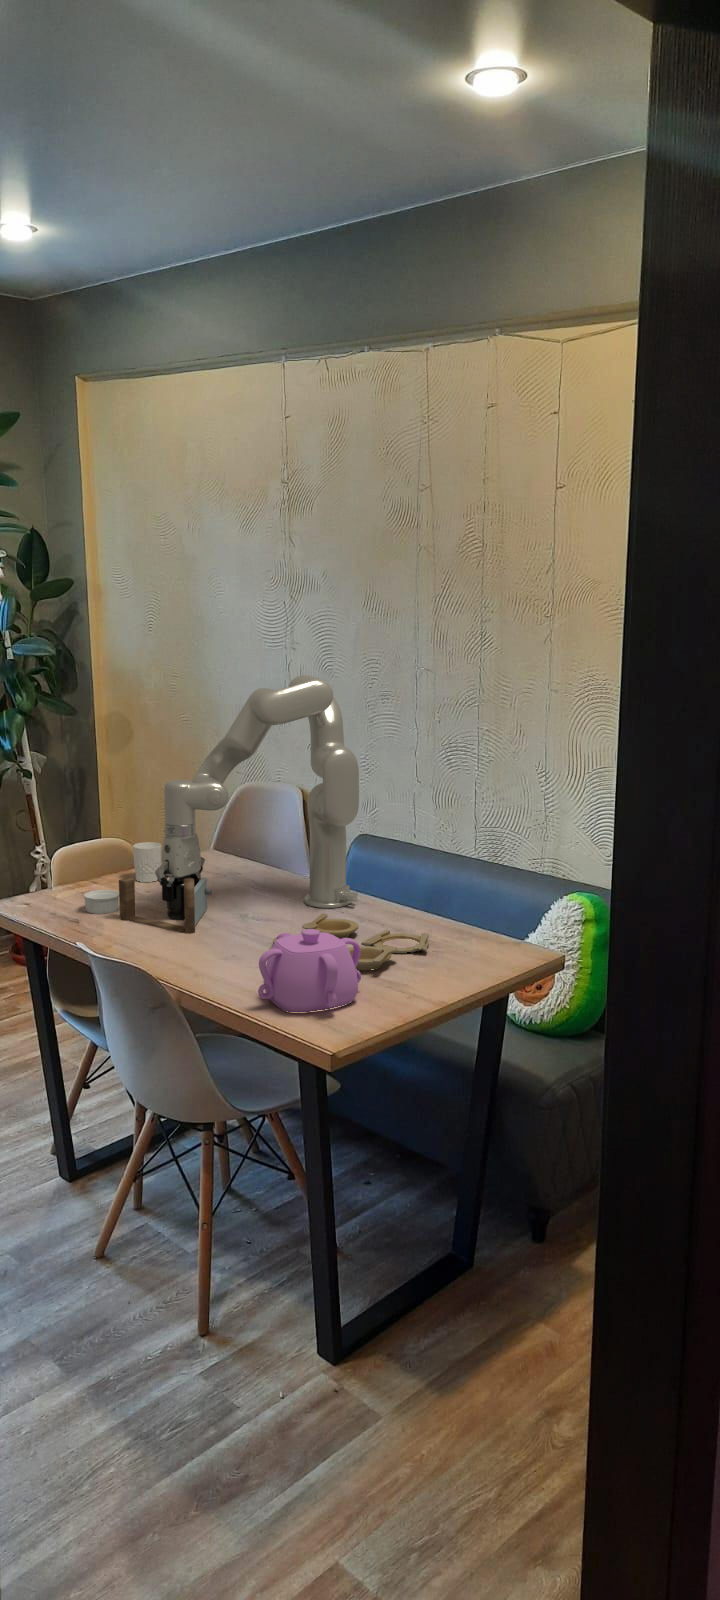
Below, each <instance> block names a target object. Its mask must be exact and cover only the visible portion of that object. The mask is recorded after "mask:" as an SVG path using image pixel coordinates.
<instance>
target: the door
mask: <svg viewBox="0 0 720 1600" xmlns="http://www.w3.org/2000/svg"><path fill="white" fill-rule="evenodd" d="M207 881H208V879H207V877H201V879H200V881H199V882H198V883H197V885H196V886H195V887H194V900H195V926H196V925H197V924H198V922H199V921H200V919H201V918H202V916H203V915H204V913H205V912H206V910H207V909H208V896H212V893H213V890H212V888H209V887H208V885H207V884H208V883H207ZM207 887H208V888H207Z"/></svg>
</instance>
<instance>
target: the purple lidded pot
mask: <svg viewBox="0 0 720 1600" xmlns="http://www.w3.org/2000/svg"><path fill="white" fill-rule="evenodd" d="M276 938H277V940H276V941H275V943H274V944H272V946H273V947H272V946H271V947H272V949H270V948H269V949H270V950H269V949H267V950H266V951H264V952H263V953H262V954H261V956H260V957H259V961H258V967H259V972H260V974H261V978H262V979H263V984H261V985H260V986H259V987H258V991H257V993H258V996H259V998H261V999H262V1000H270V1001H271V1002H272V1004H273V1005H275V1004H276V1005H277V1006H276V1005H275V1006H276V1007H278V1008H279V1007H280V1008H281V1009H280V1010H282V1009H283V1010H282V1011H284V1010H285V1011H288V1012H310V1011H317V1010H325V1009H330V1008H334V1007H338V1006H342V1005H345V1004H348V1003H350V1002H352V1001H354V1000H355V998H356V996H357V994H358V992H359V983H360V982H361V981H362V980H361V979H362V973H361V972H360V970H356V966H357V964H358V961H359V958H360V953H361V949H360V946H361V944H359V942H358V941H356V940H355V939H353V938H349V937H347V938H342V939H339V938H337V937H336V936H334V935H332V934H329V933H324V932H320V931H319V930H316V929H303V930H301V934H300V933H299V934H293V935H291V933H290V932H283V933H280V934H278V935H277V936H276ZM348 945H352V947H354V951H353V956H352V957H351V954H350V951H349V949H348V948H349V947H348ZM264 991H265V992H264ZM352 1003H353V1002H352ZM285 1011H284V1012H285ZM288 1012H287V1013H288Z"/></svg>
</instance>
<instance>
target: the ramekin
mask: <svg viewBox="0 0 720 1600" xmlns="http://www.w3.org/2000/svg"><path fill="white" fill-rule="evenodd" d="M83 897H84V904H85V910H86V912H87V913H89V914H92V913H93V915H107V914H111V912H112V913H114V912H116V911H117V910H119V891H116V890H113V889H97V890H96V889H95V890H92V891H91V890H90V891H87V892H85V893H84V894H83ZM106 913H107V914H106Z"/></svg>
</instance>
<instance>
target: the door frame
mask: <svg viewBox="0 0 720 1600" xmlns="http://www.w3.org/2000/svg"><path fill="white" fill-rule="evenodd" d="M135 888H136V887H135V878H132V877H125V878H121V879H119V880H118V892H119V899H118V905H119V919H120V920H122V921H126V922H127V921H129V922H133V923H137V924H142V925H146V926H149V927H150V926H151V927H155V928H160V929H163V930H164V929H165V930H168V931H174V932H179V933H183V932H184V933H185V934H194V933H196V925H195V900H194V879H193V878H186V879H184V908H185V919H184V925H180V924H176V923H175V924H174V923H170V922H165V921H161V920H157V919H152V918H147V917H142V916H136V891H135V890H136V889H135Z"/></svg>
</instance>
